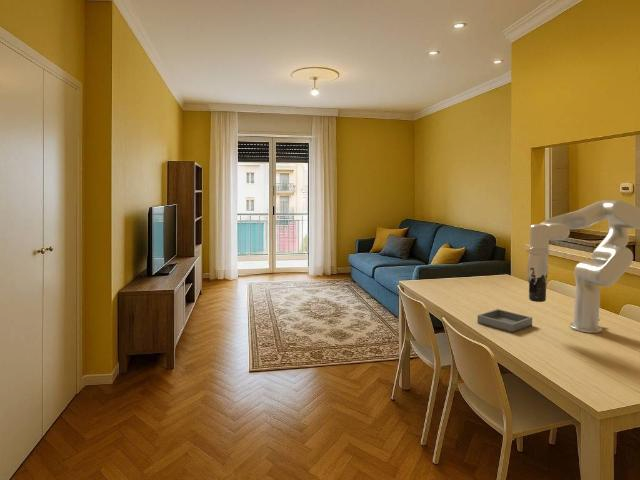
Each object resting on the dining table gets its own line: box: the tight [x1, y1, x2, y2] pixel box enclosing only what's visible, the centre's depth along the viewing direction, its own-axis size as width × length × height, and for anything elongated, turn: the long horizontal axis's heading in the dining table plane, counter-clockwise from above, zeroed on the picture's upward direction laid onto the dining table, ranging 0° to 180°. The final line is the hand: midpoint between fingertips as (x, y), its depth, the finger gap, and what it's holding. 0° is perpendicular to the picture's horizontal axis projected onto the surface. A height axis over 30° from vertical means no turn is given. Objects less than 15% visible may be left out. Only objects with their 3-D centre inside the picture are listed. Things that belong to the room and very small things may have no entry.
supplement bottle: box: [528, 275, 547, 303], centre depth 181 cm, size 7×7×12 cm
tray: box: [476, 308, 533, 334], centre depth 195 cm, size 17×18×4 cm
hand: (537, 290), depth 181 cm, fingers closed on supplement bottle, 6 cm apart
